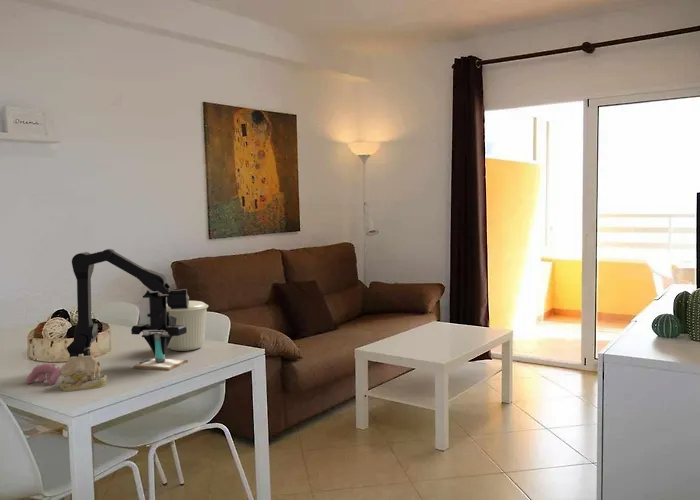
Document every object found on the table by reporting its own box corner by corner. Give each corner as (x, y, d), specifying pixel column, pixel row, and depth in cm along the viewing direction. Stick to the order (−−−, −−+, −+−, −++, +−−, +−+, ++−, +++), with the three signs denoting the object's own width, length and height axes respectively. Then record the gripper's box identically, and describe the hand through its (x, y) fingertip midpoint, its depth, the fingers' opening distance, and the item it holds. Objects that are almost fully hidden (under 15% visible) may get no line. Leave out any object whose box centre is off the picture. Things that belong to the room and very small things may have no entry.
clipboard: (168, 370, 205) (168, 366, 205) (132, 368, 209) (132, 364, 209) (187, 361, 217) (187, 357, 217) (153, 359, 220) (153, 355, 220)
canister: (198, 341, 251) (196, 290, 249) (217, 348, 236) (215, 294, 235) (154, 347, 240) (152, 294, 238) (172, 356, 225) (170, 299, 224)
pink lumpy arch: (60, 387, 192) (66, 365, 195) (50, 384, 188) (56, 362, 191) (34, 385, 195) (40, 364, 198) (23, 383, 191) (30, 361, 194)
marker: (161, 362, 211) (160, 335, 211) (153, 362, 212) (152, 334, 212) (167, 360, 215) (166, 333, 214) (158, 359, 216) (157, 332, 215)
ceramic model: (53, 392, 183) (51, 359, 182) (63, 382, 194) (62, 350, 193) (102, 389, 185) (101, 356, 184) (110, 379, 196) (109, 348, 195)
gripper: (193, 306, 217) (195, 349, 218) (148, 305, 222) (150, 347, 223) (177, 311, 207) (178, 357, 208) (129, 310, 212) (131, 355, 213)
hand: (159, 354), depth 213 cm, fingers closed on marker, 3 cm apart
